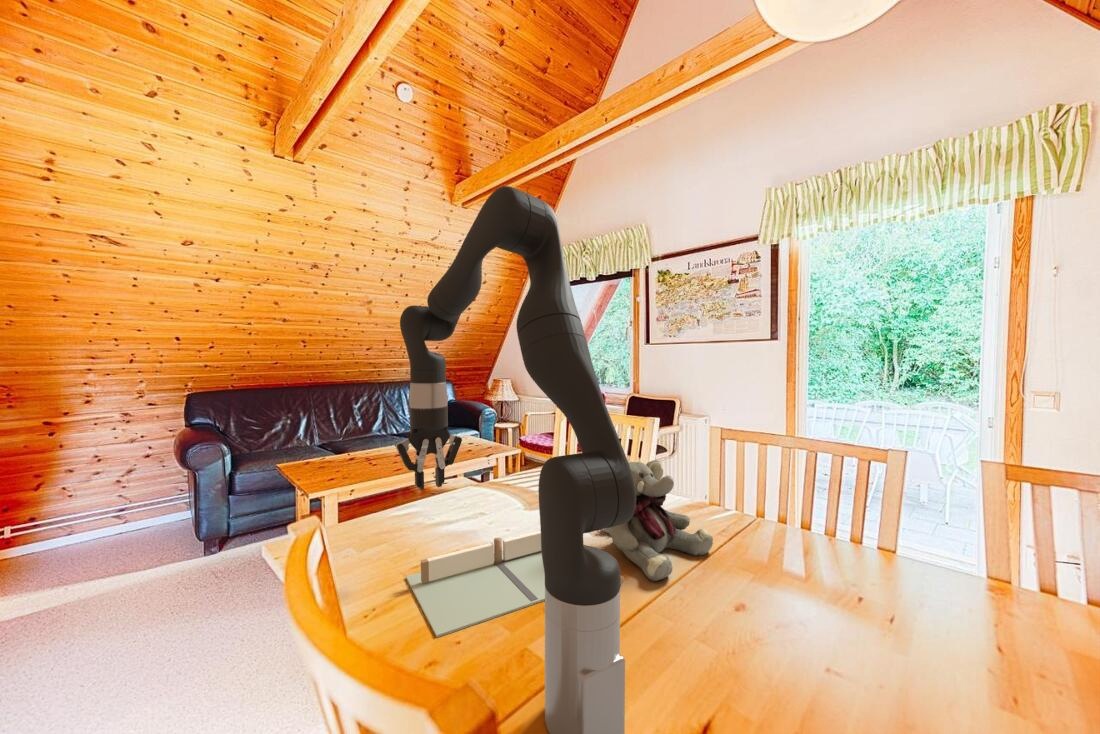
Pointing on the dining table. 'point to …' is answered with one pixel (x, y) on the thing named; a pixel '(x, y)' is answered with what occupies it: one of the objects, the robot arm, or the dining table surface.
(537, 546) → the fence fixed
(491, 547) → the gate
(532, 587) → the board
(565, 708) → the robot arm
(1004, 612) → the dining table surface
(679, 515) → the plush elephant
